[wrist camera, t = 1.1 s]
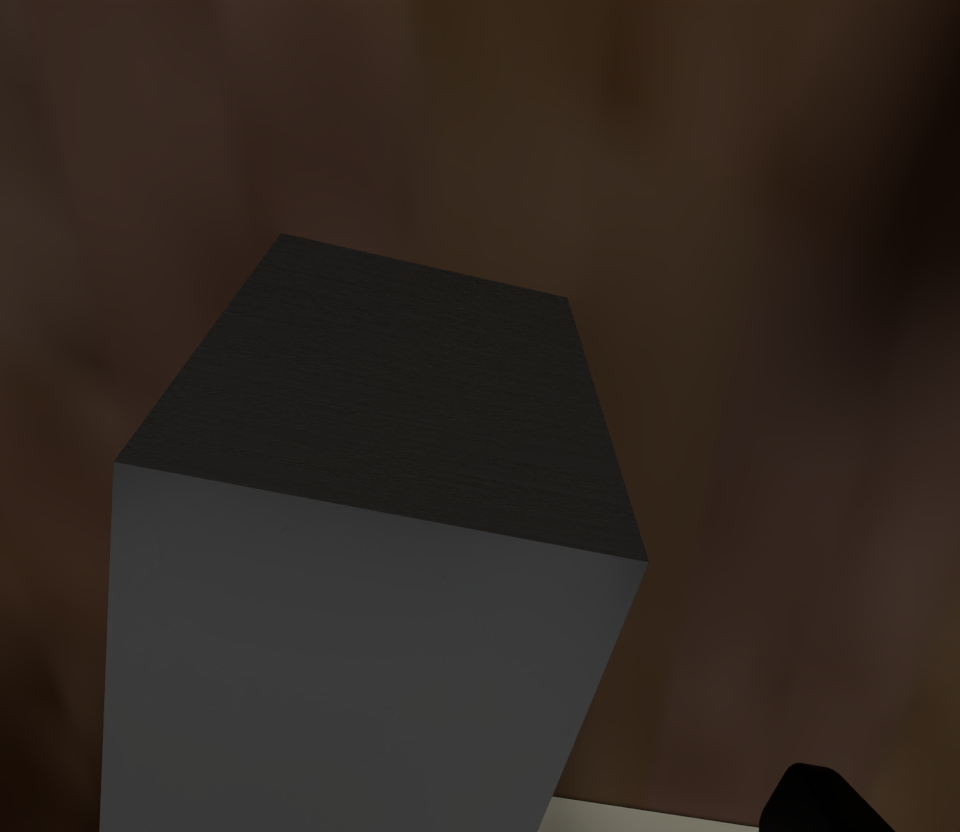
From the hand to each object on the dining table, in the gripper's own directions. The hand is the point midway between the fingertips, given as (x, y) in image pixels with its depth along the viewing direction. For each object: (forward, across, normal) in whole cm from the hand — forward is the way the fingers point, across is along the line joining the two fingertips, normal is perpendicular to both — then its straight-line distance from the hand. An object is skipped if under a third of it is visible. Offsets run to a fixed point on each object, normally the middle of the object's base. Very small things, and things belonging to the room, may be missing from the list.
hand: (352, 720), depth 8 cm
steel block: (+5, 0, 0) cm, 5 cm away
